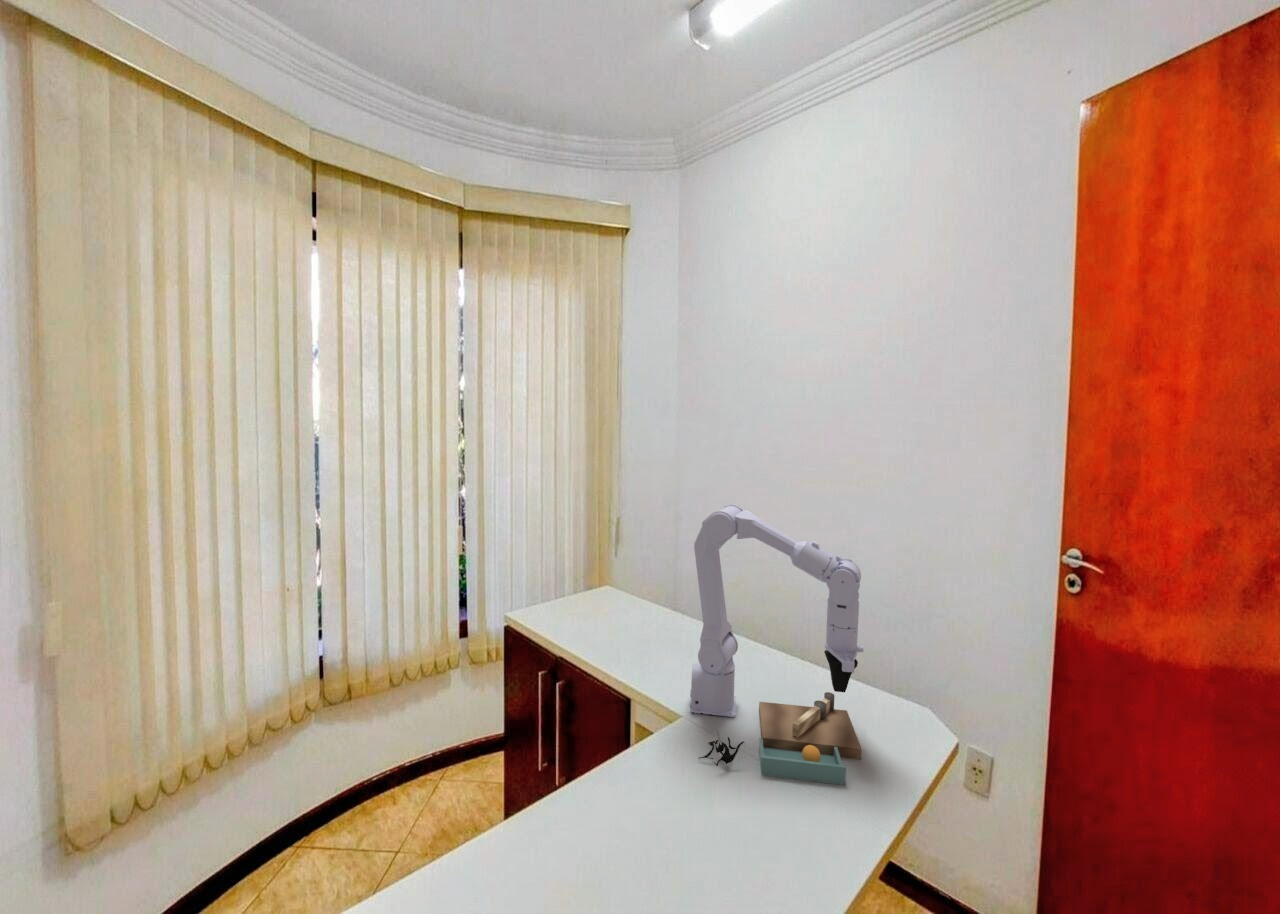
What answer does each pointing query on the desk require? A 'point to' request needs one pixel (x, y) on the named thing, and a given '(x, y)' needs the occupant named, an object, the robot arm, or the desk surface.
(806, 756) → the ball
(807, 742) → the board
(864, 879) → the desk surface
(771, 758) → the teal shallow crate
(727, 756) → the creature
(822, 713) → the lever
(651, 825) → the desk surface
